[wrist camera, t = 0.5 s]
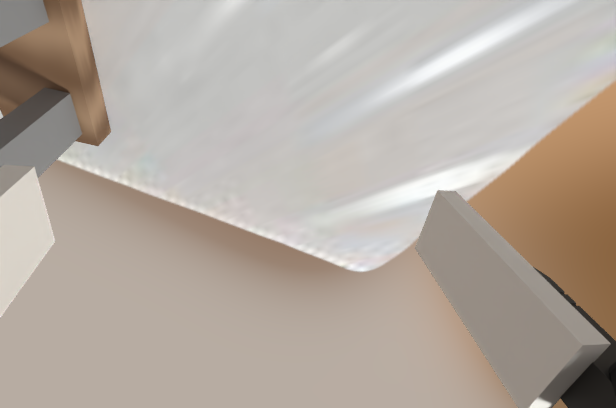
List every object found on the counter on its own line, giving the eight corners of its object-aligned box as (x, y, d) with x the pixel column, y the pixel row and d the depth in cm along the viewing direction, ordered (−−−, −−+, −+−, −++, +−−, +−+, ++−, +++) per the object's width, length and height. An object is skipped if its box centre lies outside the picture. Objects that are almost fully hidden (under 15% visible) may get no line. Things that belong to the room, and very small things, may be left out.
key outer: (70, 93, 35) (-44, 185, 25) (82, 134, 39) (-13, 229, 29) (43, 86, 35) (-82, 177, 25) (58, 129, 39) (-47, 223, 29)
